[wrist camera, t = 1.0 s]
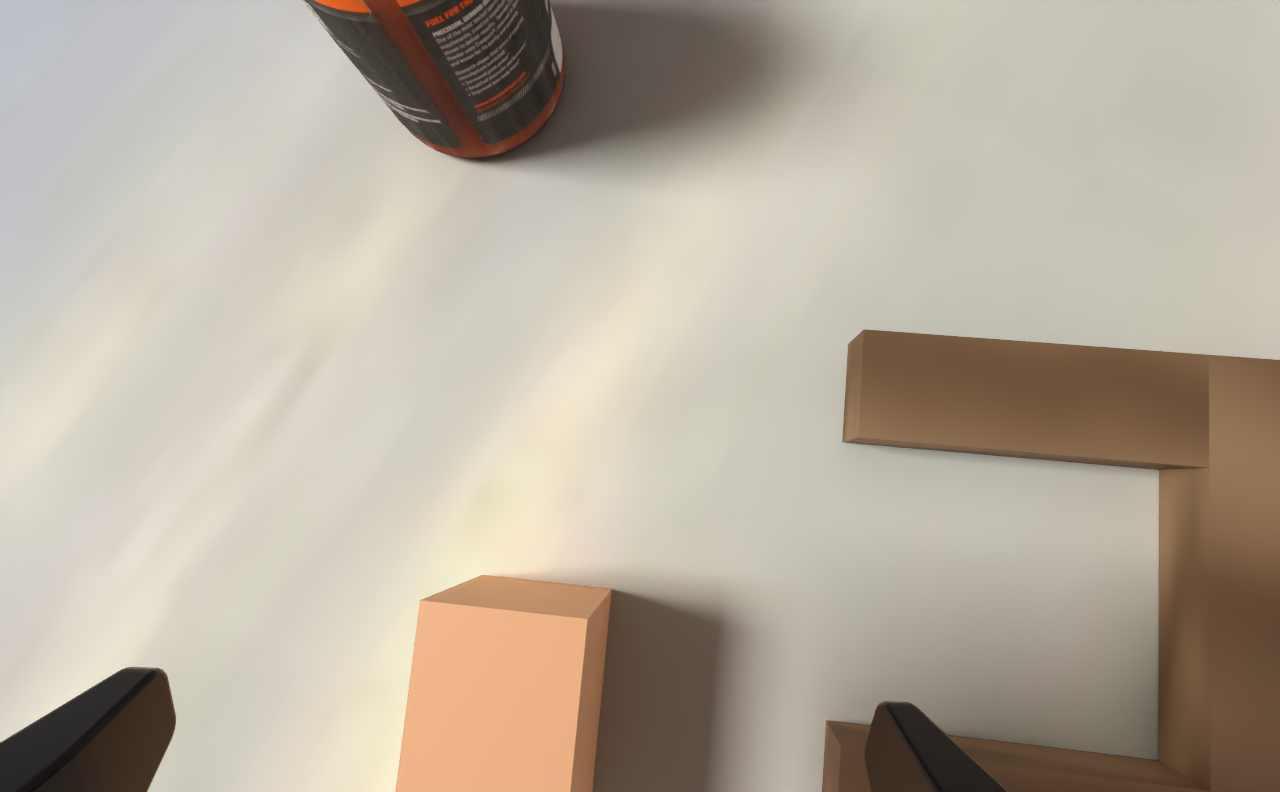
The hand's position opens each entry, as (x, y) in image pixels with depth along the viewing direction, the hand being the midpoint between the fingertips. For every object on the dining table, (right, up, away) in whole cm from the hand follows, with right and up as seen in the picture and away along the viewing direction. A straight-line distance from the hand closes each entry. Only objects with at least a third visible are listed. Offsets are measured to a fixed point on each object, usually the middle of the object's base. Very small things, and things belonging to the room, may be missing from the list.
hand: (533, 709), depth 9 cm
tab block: (-2, -5, +12) cm, 13 cm away
